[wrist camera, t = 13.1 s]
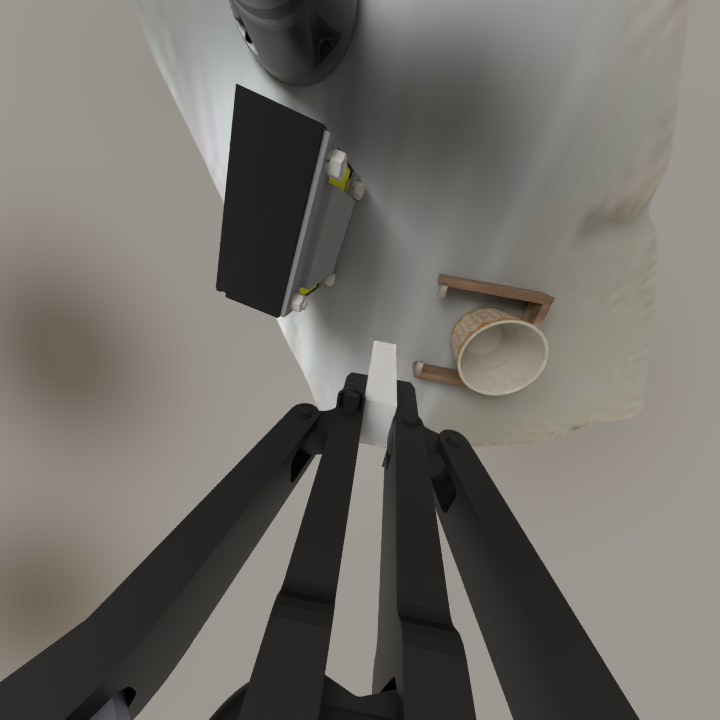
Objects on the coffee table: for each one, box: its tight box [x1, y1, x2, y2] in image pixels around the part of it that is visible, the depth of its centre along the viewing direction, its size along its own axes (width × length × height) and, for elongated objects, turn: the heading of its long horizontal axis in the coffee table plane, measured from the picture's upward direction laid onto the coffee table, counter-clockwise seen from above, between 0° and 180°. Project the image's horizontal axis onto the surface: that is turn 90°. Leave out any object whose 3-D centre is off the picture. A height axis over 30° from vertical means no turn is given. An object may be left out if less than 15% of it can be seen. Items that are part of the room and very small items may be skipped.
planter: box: [451, 308, 549, 396], centre depth 42 cm, size 13×13×10 cm
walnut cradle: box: [413, 274, 554, 388], centre depth 45 cm, size 18×17×4 cm
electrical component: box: [216, 84, 365, 318], centre depth 33 cm, size 18×10×20 cm, turn 159°
